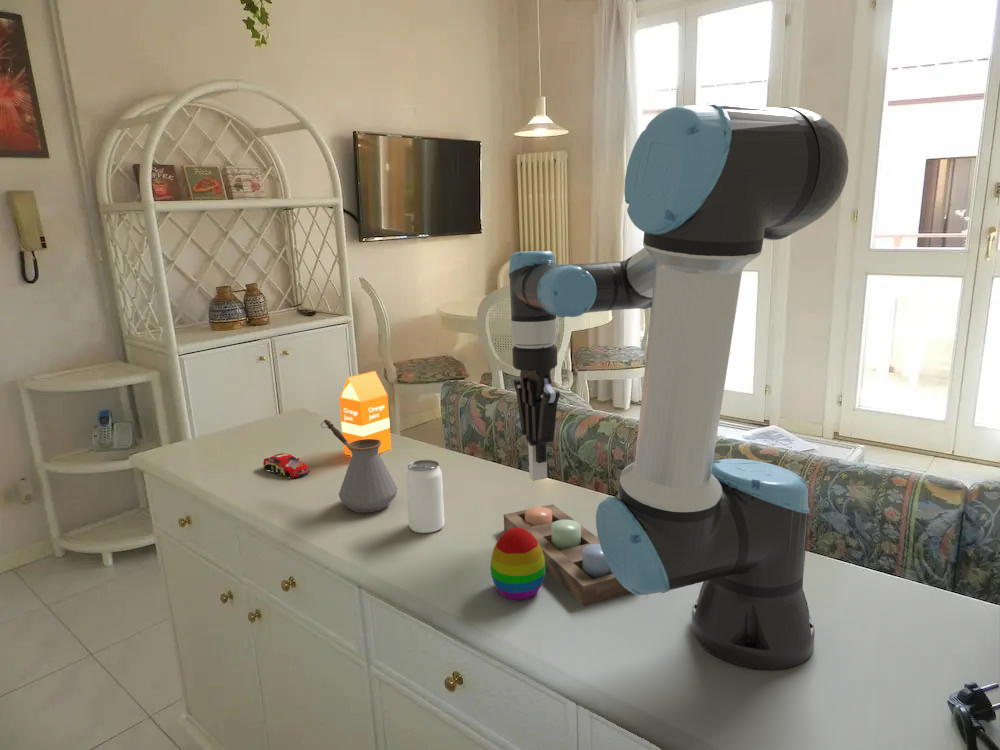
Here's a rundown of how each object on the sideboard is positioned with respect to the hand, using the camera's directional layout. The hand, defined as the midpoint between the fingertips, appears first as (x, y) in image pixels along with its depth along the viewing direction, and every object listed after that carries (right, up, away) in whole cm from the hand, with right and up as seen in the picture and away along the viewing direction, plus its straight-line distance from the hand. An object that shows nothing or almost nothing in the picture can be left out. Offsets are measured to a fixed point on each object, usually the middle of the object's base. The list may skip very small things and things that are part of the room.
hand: (538, 478), depth 119 cm
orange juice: (-39, -1, +50) cm, 64 cm away
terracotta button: (0, -10, +2) cm, 10 cm away
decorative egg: (-4, -15, -16) cm, 22 cm away
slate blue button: (+8, -12, -16) cm, 22 cm away
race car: (-56, -5, +39) cm, 68 cm away
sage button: (+4, -10, -7) cm, 13 cm away
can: (-20, -10, +7) cm, 24 cm away
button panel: (+4, -12, -7) cm, 14 cm away
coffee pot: (-36, -8, +21) cm, 43 cm away
